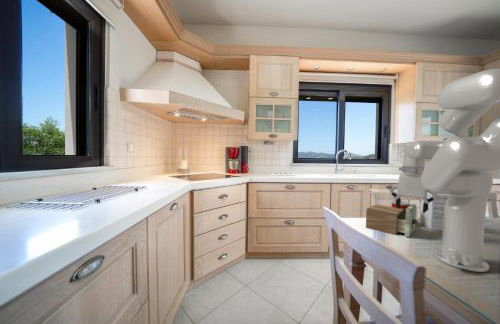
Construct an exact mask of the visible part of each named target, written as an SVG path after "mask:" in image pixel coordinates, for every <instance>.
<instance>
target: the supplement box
mask: <svg viewBox="0 0 500 324" xmlns="http://www.w3.org/2000/svg"><path fill="white" fill-rule="evenodd" d="M450 195H451V194H438V196H437V197H436V198H435V199H434V200H433V201H431V202H430V203H428V211H426V212H425V213H423V203H424V201H423V200H422V198H420V217H419V218H420V219H419V224H420V225H422V226H424V227H425V228H428V229H429V230H432V231H442V232H443V217H444V206H445V203H446V201H447V199H448V198H449V196H450ZM426 197H427V199H429V198H431V197H432V195H431V194H430V193H428V192H427V196H426Z"/></svg>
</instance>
